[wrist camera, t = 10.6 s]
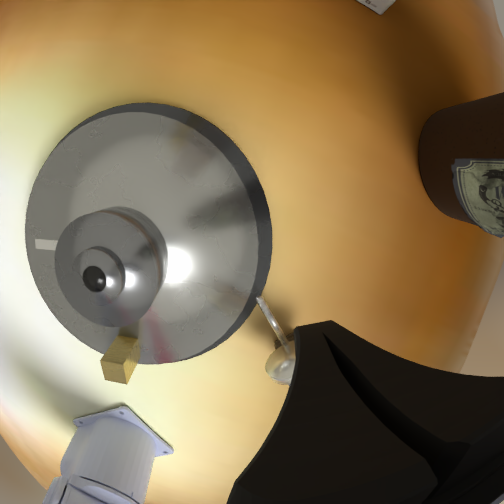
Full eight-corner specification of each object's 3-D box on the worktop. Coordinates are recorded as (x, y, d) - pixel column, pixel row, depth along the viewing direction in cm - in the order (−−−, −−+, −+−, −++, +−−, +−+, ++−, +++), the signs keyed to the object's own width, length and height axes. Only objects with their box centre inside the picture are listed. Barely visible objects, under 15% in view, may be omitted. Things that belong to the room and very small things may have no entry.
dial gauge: (273, 362, 21) (282, 405, 16) (233, 299, 20) (233, 335, 15) (314, 343, 21) (332, 382, 16) (279, 275, 19) (293, 306, 15)
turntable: (50, 336, 19) (24, 362, 15) (37, 128, 15) (0, 122, 10) (246, 365, 20) (248, 405, 16) (268, 119, 16) (278, 100, 12)
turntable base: (117, 382, 21) (114, 388, 21) (7, 201, 17) (1, 202, 16) (315, 293, 20) (318, 298, 19) (189, 58, 15) (187, 53, 15)
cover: (82, 298, 17) (55, 325, 13) (76, 205, 15) (41, 213, 11) (169, 309, 17) (155, 342, 14) (170, 208, 16) (152, 218, 12)
